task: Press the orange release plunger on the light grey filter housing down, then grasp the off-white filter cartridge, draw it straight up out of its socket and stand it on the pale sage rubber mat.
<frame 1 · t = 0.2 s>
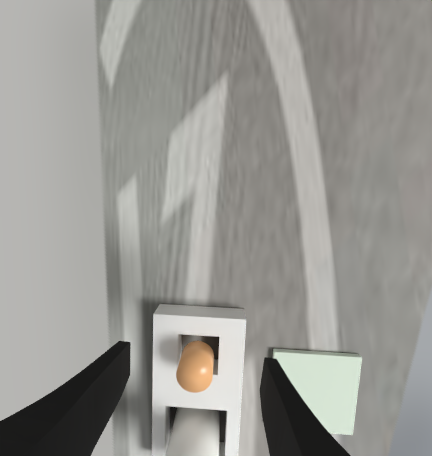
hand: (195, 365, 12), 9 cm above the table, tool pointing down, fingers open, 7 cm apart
mat: (312, 389, 22), on the table
housing: (199, 383, 23), on the table
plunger: (196, 365, 19), point 3 cm above the table, slide at 0.0 cm
cartridge: (197, 415, 23), resting in housing
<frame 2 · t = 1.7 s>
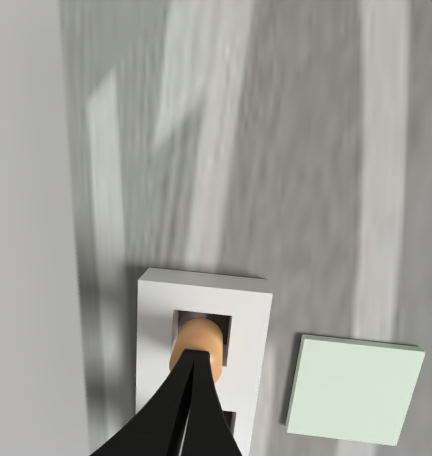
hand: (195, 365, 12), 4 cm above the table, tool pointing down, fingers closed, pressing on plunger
mat: (348, 388, 17), on the table
housing: (199, 373, 17), on the table
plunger: (198, 351, 13), point 3 cm above the table, slide at 0.3 cm, touching gripper
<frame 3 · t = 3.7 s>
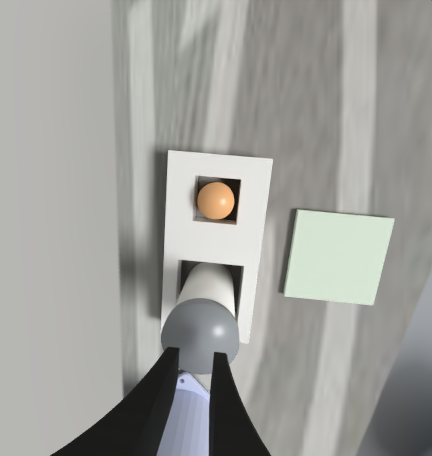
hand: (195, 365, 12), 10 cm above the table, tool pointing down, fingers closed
mat: (334, 257, 21), on the table
housing: (213, 247, 21), on the table
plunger: (216, 199, 18), point 2 cm above the table, slide at 1.7 cm
cartridge: (210, 283, 22), resting in housing
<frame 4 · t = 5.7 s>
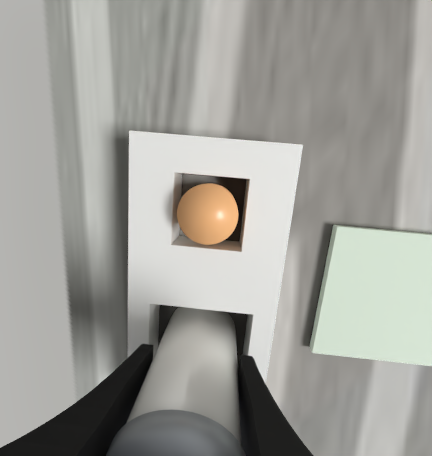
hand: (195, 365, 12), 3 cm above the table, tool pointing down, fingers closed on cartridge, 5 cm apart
mat: (388, 296, 14), on the table
housing: (205, 280, 14), on the table
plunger: (209, 211, 12), point 2 cm above the table, slide at 1.7 cm
cartridge: (201, 331, 15), resting in housing, touching gripper
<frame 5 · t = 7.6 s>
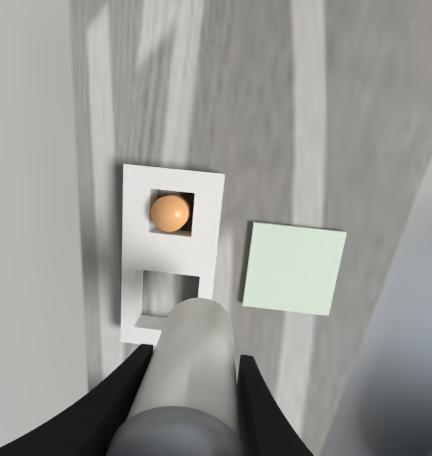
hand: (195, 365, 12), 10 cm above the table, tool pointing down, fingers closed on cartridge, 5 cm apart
mat: (291, 268, 21), on the table
housing: (173, 257, 22), on the table
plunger: (172, 212, 19), point 2 cm above the table, slide at 1.7 cm
cartridge: (199, 328, 15), point 7 cm above the table, touching gripper
when the fingers open (4 cm above the table, at t = 9.5 s): cartridge stays where it is, resting on mat.
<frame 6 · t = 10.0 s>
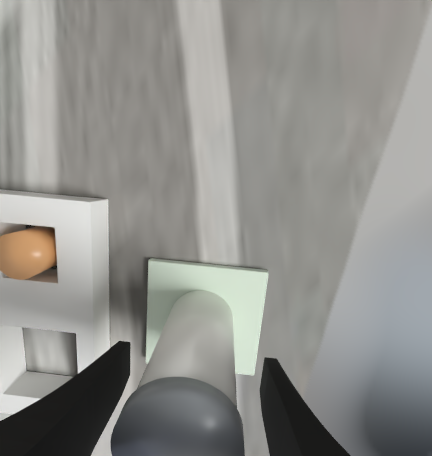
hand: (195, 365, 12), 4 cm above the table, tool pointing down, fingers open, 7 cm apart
mat: (204, 316, 16), on the table
housing: (56, 303, 17), on the table
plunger: (32, 251, 14), point 2 cm above the table, slide at 1.7 cm
cartridge: (201, 319, 16), point 1 cm above the table, touching mat
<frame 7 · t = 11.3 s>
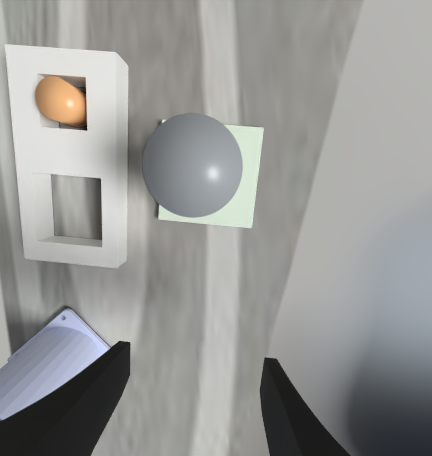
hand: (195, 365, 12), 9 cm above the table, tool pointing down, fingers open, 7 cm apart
mat: (209, 176, 19), on the table
housing: (81, 167, 20), on the table
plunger: (65, 103, 17), point 2 cm above the table, slide at 1.7 cm
cartridge: (206, 174, 19), point 1 cm above the table, touching mat
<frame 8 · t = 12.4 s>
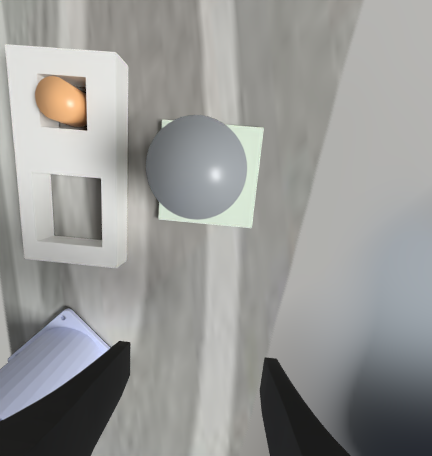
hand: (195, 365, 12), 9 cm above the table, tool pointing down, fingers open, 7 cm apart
mat: (209, 176, 19), on the table
housing: (81, 167, 20), on the table
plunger: (65, 103, 17), point 2 cm above the table, slide at 1.7 cm
cartridge: (206, 174, 19), point 1 cm above the table, touching mat
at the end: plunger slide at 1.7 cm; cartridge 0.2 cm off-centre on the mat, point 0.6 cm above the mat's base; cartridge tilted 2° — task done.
